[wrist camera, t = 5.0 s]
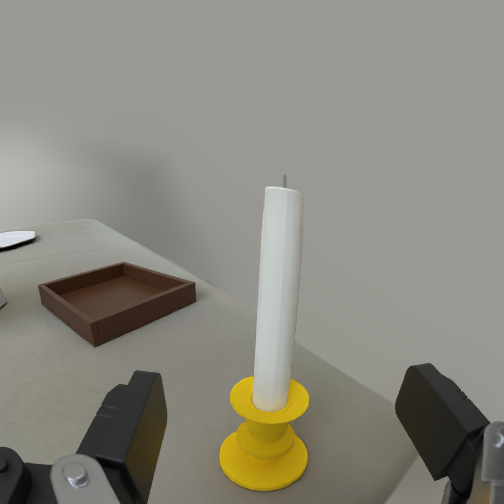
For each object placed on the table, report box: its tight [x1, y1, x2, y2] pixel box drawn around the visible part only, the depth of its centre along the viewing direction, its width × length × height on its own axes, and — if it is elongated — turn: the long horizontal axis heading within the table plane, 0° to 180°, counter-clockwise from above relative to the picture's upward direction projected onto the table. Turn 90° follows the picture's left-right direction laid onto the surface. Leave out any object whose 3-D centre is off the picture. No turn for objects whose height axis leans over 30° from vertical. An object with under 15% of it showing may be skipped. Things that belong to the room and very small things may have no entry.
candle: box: [219, 175, 309, 491], centre depth 13 cm, size 5×5×16 cm
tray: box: [38, 262, 196, 347], centre depth 35 cm, size 16×16×3 cm
